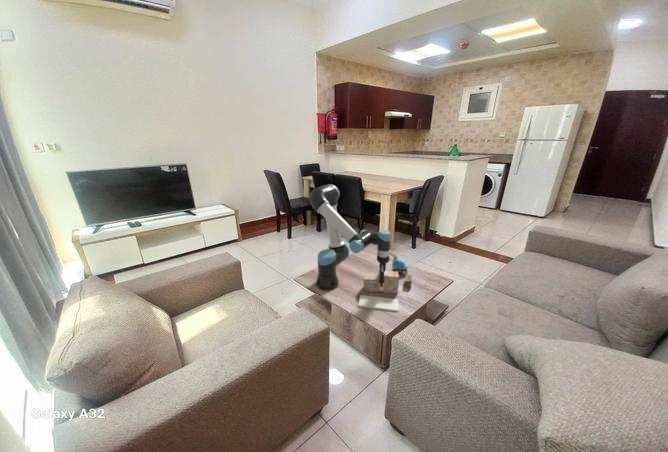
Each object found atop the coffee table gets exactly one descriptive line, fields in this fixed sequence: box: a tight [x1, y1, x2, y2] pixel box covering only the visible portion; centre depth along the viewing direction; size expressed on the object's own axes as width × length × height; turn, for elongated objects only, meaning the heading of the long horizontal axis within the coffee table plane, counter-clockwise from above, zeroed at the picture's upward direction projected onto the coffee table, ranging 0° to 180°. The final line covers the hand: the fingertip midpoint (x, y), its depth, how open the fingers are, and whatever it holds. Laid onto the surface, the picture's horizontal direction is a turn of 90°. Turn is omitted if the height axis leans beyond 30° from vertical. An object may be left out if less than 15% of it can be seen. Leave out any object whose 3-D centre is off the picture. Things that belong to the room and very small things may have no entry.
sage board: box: [357, 294, 399, 312], centre depth 152 cm, size 23×10×1 cm, turn 77°
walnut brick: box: [404, 273, 413, 289], centre depth 170 cm, size 4×8×5 cm, turn 161°
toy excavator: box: [389, 251, 409, 276], centre depth 183 cm, size 9×17×17 cm, turn 80°
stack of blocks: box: [363, 270, 400, 294], centre depth 163 cm, size 21×6×12 cm, turn 84°
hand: (381, 286), depth 165 cm, fingers closed on stack of blocks, 7 cm apart
